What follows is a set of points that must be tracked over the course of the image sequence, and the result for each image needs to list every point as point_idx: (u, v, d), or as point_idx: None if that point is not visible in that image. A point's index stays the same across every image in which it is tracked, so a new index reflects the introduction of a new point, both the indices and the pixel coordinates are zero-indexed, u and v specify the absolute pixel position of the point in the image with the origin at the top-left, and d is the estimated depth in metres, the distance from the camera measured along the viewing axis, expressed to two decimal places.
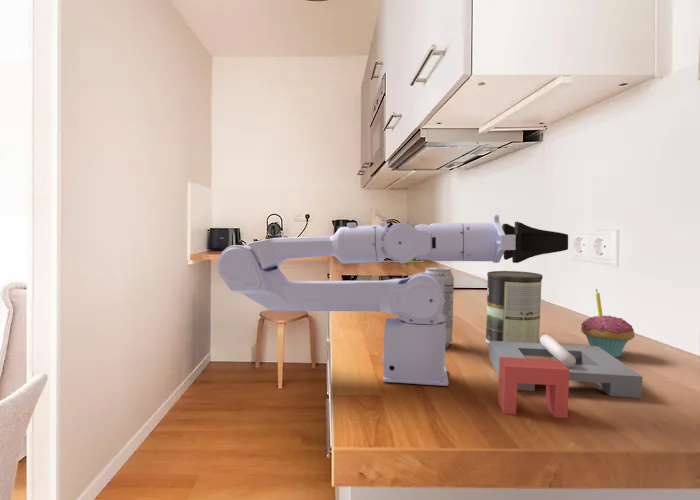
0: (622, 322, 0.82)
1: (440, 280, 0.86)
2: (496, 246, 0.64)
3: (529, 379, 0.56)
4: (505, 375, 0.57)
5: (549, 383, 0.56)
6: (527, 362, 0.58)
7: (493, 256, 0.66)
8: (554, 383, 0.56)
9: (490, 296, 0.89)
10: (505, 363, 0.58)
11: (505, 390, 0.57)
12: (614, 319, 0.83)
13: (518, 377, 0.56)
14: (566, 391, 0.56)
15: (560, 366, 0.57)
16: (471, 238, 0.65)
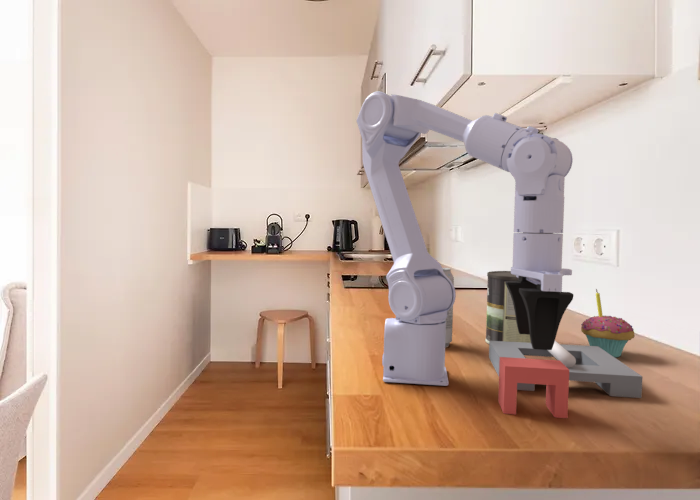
0: (622, 322, 0.82)
1: None
2: (537, 271, 0.54)
3: (529, 379, 0.56)
4: (505, 375, 0.57)
5: (549, 383, 0.56)
6: (527, 362, 0.58)
7: (522, 267, 0.56)
8: (554, 383, 0.56)
9: (490, 296, 0.89)
10: (505, 363, 0.58)
11: (505, 390, 0.57)
12: (614, 319, 0.83)
13: (518, 377, 0.56)
14: (566, 391, 0.56)
15: (560, 366, 0.57)
16: (548, 242, 0.54)
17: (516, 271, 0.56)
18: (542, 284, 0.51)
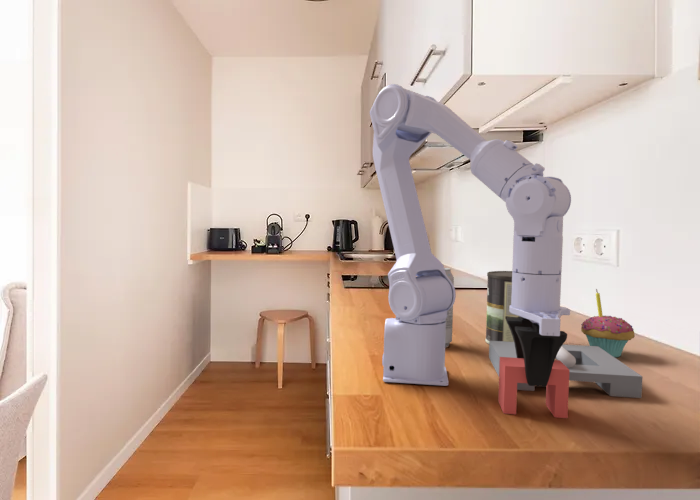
0: (622, 322, 0.82)
1: None
2: (535, 311, 0.55)
3: None
4: (505, 375, 0.57)
5: (549, 383, 0.56)
6: None
7: (521, 307, 0.56)
8: (554, 383, 0.56)
9: (490, 296, 0.89)
10: (505, 363, 0.58)
11: (505, 390, 0.57)
12: (614, 319, 0.83)
13: (518, 377, 0.56)
14: (566, 391, 0.56)
15: (560, 366, 0.57)
16: (546, 283, 0.55)
17: (515, 311, 0.56)
18: (540, 328, 0.51)
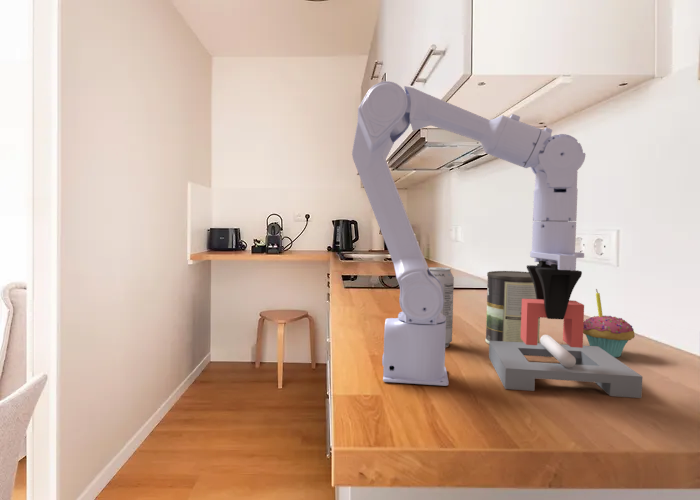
0: (622, 322, 0.82)
1: (440, 280, 0.86)
2: (554, 253, 0.63)
3: None
4: (527, 311, 0.65)
5: (566, 317, 0.64)
6: None
7: (541, 251, 0.64)
8: (571, 317, 0.64)
9: (490, 296, 0.89)
10: (527, 301, 0.66)
11: (527, 324, 0.65)
12: (614, 319, 0.83)
13: (539, 312, 0.64)
14: (581, 323, 0.64)
15: (576, 303, 0.65)
16: (563, 229, 0.63)
17: (535, 254, 0.65)
18: (559, 264, 0.59)
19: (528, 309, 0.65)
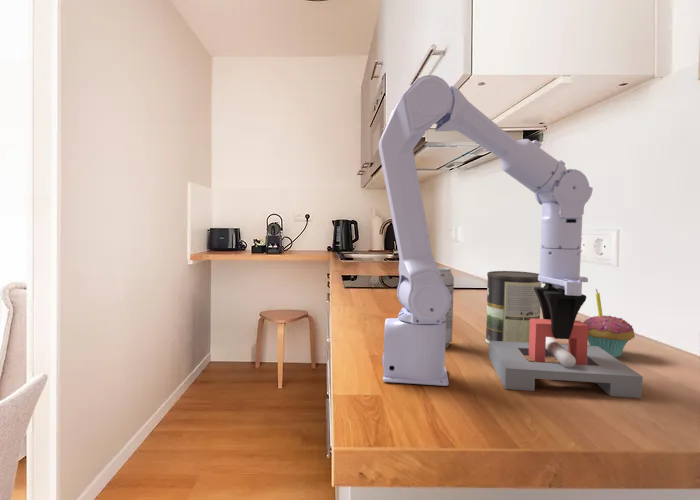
0: (622, 322, 0.82)
1: None
2: (560, 278, 0.68)
3: None
4: (536, 331, 0.70)
5: (572, 337, 0.69)
6: None
7: (548, 276, 0.69)
8: (576, 336, 0.69)
9: (490, 296, 0.89)
10: (535, 322, 0.71)
11: (536, 343, 0.70)
12: (614, 319, 0.83)
13: (546, 332, 0.70)
14: (585, 343, 0.69)
15: (580, 323, 0.70)
16: (569, 256, 0.68)
17: (543, 279, 0.70)
18: (566, 290, 0.64)
19: (536, 329, 0.70)
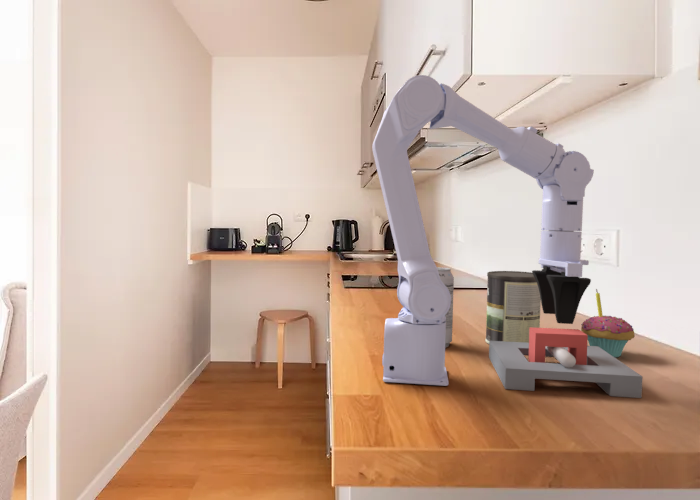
0: (622, 322, 0.82)
1: None
2: (561, 261, 0.68)
3: (555, 343, 0.70)
4: (535, 340, 0.70)
5: (571, 346, 0.69)
6: (553, 330, 0.72)
7: (549, 258, 0.69)
8: (575, 346, 0.69)
9: (490, 296, 0.89)
10: (535, 331, 0.71)
11: (536, 352, 0.70)
12: (614, 319, 0.83)
13: (546, 342, 0.70)
14: (585, 352, 0.69)
15: (579, 333, 0.70)
16: (570, 238, 0.68)
17: (543, 261, 0.70)
18: (566, 271, 0.64)
19: (536, 339, 0.70)
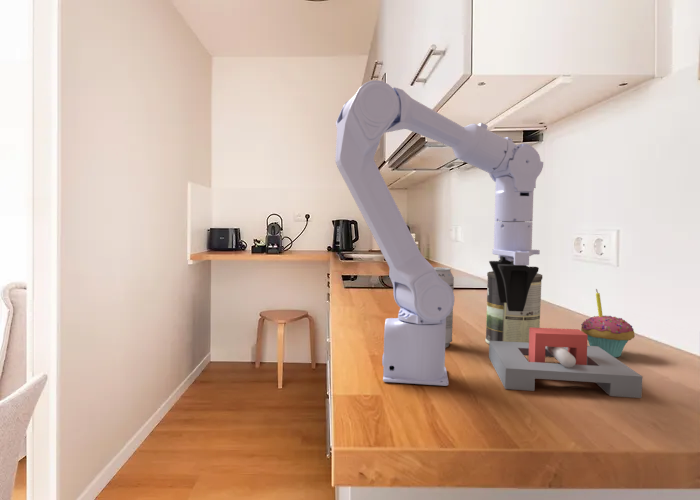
0: (622, 322, 0.82)
1: None
2: (512, 250, 0.70)
3: (555, 343, 0.70)
4: (535, 340, 0.70)
5: (571, 346, 0.69)
6: (553, 330, 0.72)
7: (501, 248, 0.71)
8: (575, 346, 0.69)
9: (490, 296, 0.89)
10: (535, 331, 0.71)
11: (536, 352, 0.70)
12: (614, 319, 0.83)
13: (546, 342, 0.70)
14: (585, 352, 0.69)
15: (579, 333, 0.70)
16: (520, 228, 0.70)
17: (496, 251, 0.72)
18: (514, 260, 0.66)
19: (536, 339, 0.70)
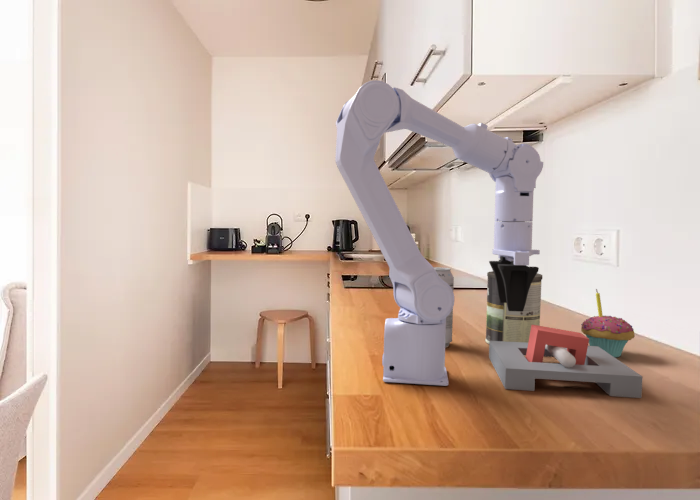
0: (622, 322, 0.82)
1: None
2: (512, 250, 0.70)
3: (556, 342, 0.70)
4: (537, 337, 0.70)
5: (571, 347, 0.69)
6: (555, 330, 0.72)
7: (501, 248, 0.71)
8: (575, 348, 0.69)
9: (490, 296, 0.89)
10: (537, 328, 0.71)
11: (535, 349, 0.70)
12: (614, 319, 0.83)
13: (547, 340, 0.70)
14: (584, 355, 0.69)
15: (581, 336, 0.70)
16: (520, 228, 0.70)
17: (496, 251, 0.72)
18: (514, 260, 0.66)
19: (537, 336, 0.70)
